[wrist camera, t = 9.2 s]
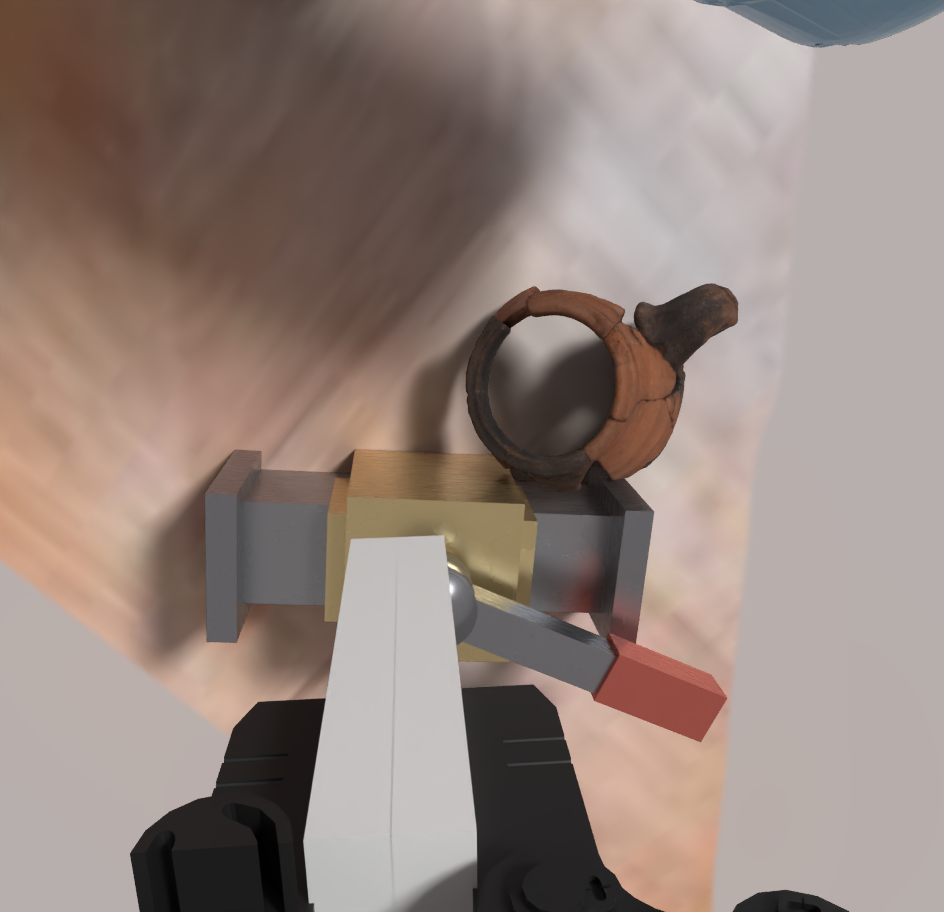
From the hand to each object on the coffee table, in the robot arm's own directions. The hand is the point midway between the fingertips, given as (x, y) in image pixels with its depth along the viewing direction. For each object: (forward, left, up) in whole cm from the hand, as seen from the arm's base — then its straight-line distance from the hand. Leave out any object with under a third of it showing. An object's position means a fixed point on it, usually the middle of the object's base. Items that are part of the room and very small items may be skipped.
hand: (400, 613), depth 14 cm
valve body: (+8, +2, -26) cm, 27 cm away
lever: (+10, +7, -18) cm, 22 cm away
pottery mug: (0, +9, -26) cm, 27 cm away
